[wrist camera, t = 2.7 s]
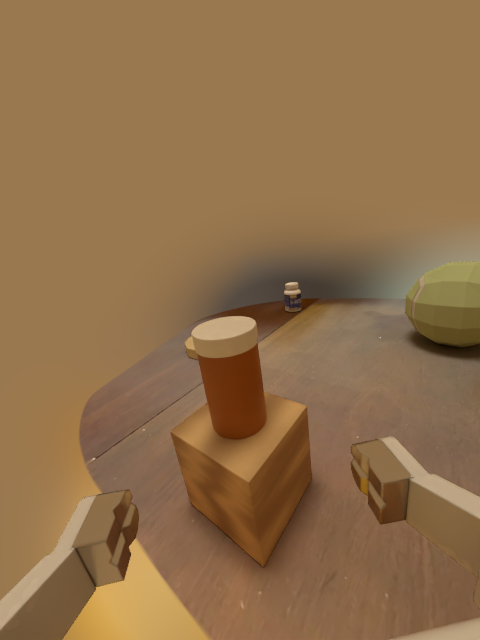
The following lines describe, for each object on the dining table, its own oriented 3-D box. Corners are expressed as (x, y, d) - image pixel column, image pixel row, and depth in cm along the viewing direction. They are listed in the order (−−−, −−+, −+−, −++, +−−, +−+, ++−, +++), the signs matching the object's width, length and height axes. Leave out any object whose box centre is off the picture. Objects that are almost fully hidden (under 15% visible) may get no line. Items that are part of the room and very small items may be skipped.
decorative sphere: (394, 347, 48) (398, 271, 44) (416, 323, 58) (421, 258, 53) (505, 369, 38) (526, 271, 33) (510, 335, 47) (527, 254, 42)
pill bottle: (291, 313, 78) (289, 286, 76) (282, 310, 83) (280, 284, 80) (305, 309, 80) (303, 282, 77) (295, 306, 85) (293, 281, 82)
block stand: (190, 502, 25) (169, 431, 22) (244, 442, 31) (234, 381, 28) (263, 568, 19) (248, 482, 16) (312, 477, 26) (307, 405, 23)
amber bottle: (199, 425, 22) (177, 333, 19) (236, 394, 26) (222, 314, 23) (244, 450, 19) (225, 344, 16) (278, 410, 23) (268, 319, 20)
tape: (176, 353, 61) (174, 344, 60) (214, 333, 71) (212, 325, 70) (214, 364, 52) (212, 354, 52) (252, 340, 62) (250, 331, 61)
